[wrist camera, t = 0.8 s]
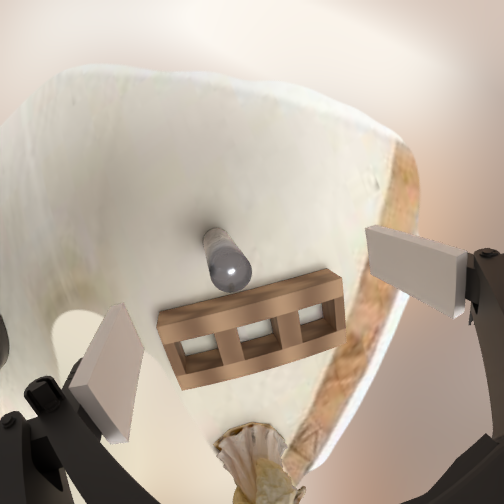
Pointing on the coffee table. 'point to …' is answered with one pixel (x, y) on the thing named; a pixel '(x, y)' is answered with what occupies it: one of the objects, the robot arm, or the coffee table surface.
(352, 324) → the coffee table surface
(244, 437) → the figurine
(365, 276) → the coffee table surface
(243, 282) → the peg
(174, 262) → the coffee table surface
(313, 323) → the hole block
